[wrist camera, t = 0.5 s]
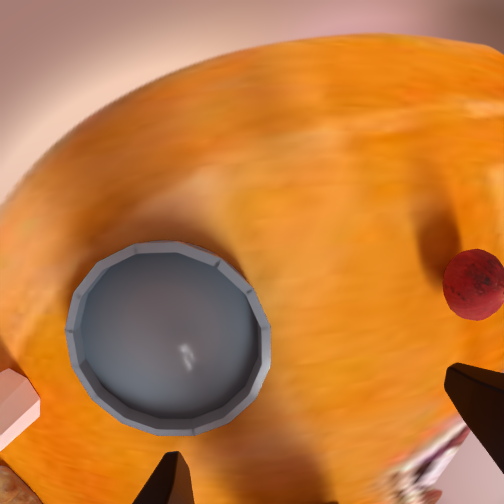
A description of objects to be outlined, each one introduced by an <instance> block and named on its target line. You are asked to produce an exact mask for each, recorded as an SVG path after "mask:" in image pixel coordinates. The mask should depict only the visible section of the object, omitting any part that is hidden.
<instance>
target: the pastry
mask: <svg viewBox="0 0 504 504" xmlns="http://www.w3.org/2000/svg"><path fill="white" fill-rule="evenodd" d="M0 504H42V502H41V501H40V500H39V498H38V496H37V495H36V494H35V493H34V492H33V491H31V489H30V488H29V487H28V486H27V485H26V484H25V483H24V482H23V481H22V480H21V479H20V478H19V477H18V476H17V475H16V474H15V473H14V472H13V471H12V470H11V469H10V468H8V467H7V466H2V465H1V466H0Z"/></svg>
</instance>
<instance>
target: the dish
mask: <svg viewBox="0 0 504 504" xmlns="http://www.w3.org/2000/svg"><path fill="white" fill-rule="evenodd" d="M65 333H66V339H67V345H68V350H69V356H70V361H71V365H72V368H73V370H74V372H75V373H76V375H77V377H78V378H79V380H80V382H81V383H82V385H83V386H84V388H85V390H86V391H87V393H88V394H89V396H90V397H91V399H92V400H93V401H94V402H96V403H97V404H98V405H99V406H100V407H102V408H103V409H104V410H105V411H107V412H108V413H109V414H111V415H112V416H113V417H114V418H116V419H117V420H118V421H120V422H121V423H123V424H125V425H128V426H131V427H134V428H136V429H139V430H142V431H145V432H148V433H151V434H154V435H157V436H195V435H198V434H201V433H204V432H207V431H209V430H212V429H215V428H218V427H220V426H223V425H225V424H228V423H230V422H231V421H232V420H233V419H234V418H235V417H237V416H238V415H239V414H240V413H241V412H242V411H243V410H244V409H245V408H246V407H248V406H249V405H250V404H251V403H252V402H253V401H254V400H255V399H256V397H257V395H258V393H259V391H260V389H261V386H262V384H263V382H264V380H265V378H266V375H267V373H268V371H269V369H270V366H271V326H270V324H269V322H268V320H267V317H266V315H265V313H264V311H263V309H262V306H261V304H260V302H259V300H258V297H257V295H256V293H255V291H254V288H253V287H252V286H251V285H250V284H249V283H248V282H247V281H246V279H245V278H244V277H243V276H242V275H241V274H240V273H239V272H238V271H237V270H236V269H235V268H234V267H233V266H232V265H231V264H230V263H228V262H227V261H226V260H225V259H223V258H222V257H220V256H219V255H217V254H215V253H214V252H211V251H209V250H207V249H205V248H203V247H200V246H197V245H194V244H191V243H187V242H182V241H175V240H158V241H148V242H140V243H135V244H133V245H131V246H129V247H127V248H124V249H122V250H120V251H118V252H116V253H114V254H112V255H110V256H108V257H106V258H104V259H102V260H100V261H98V262H97V263H96V264H95V266H94V267H93V268H92V269H91V271H90V272H89V273H88V274H87V276H86V277H85V278H84V279H83V281H82V282H81V283H80V285H79V286H78V287H77V289H76V290H75V291H74V292H73V296H72V300H71V304H70V308H69V313H68V317H67V322H66V327H65Z"/></svg>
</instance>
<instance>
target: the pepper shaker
mask: <svg viewBox="0 0 504 504" xmlns="http://www.w3.org/2000/svg"><path fill="white" fill-rule="evenodd" d="M39 416H40V397H39V396H38V394H37V393H36V391H35V389H34V388H33V386H32V385H31V383H30V382H29V380H28V378H26V377H24V376H22V375H20V374H19V373H17V372H15V371H13V370H12V369H10V368H8V369H6V370H4V371H2V372H0V451H1V450H2V449H3V448H5V447H6V446H7V445H8V444H9V443H10V442H11V441H12V440H13V439H15V438H16V437H17V436H18V435H19V434H20V433H21V432H22V431H24V430H25V429H26V428H27V427H28V426H29V425H30V424H31V423H33V422H34V421H35V420H36V419H37V418H38V417H39Z"/></svg>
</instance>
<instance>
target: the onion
mask: <svg viewBox="0 0 504 504" xmlns="http://www.w3.org/2000/svg"><path fill="white" fill-rule="evenodd" d="M443 291H444V296H445V298H446V301H447V303H448V305H449V307H450V309H451V310H452V311H453V312H455V313H456V314H457V315H458V316H460V317H461V318H464V319H469V320H477V321H478V320H483V319H485V318H488V317H489V316H491V315H492V314H493V313H495V312H496V311H497V310H498V309H499V308H500V307H501V305H502V304H503V302H504V267H503V266H502V264H501V263H500V261H499V260H498V259H497V258H496V257H495V256H494V255H492V254H490V253H488V252H486V251H484V250H480V249H472V250H467V251H463V252H461V253H460V254H458V255H457V256H456V257H454V258H453V259H452V260H451V261H450V262H449V264H448V266H447V268H446V270H445V272H444V277H443Z"/></svg>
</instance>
